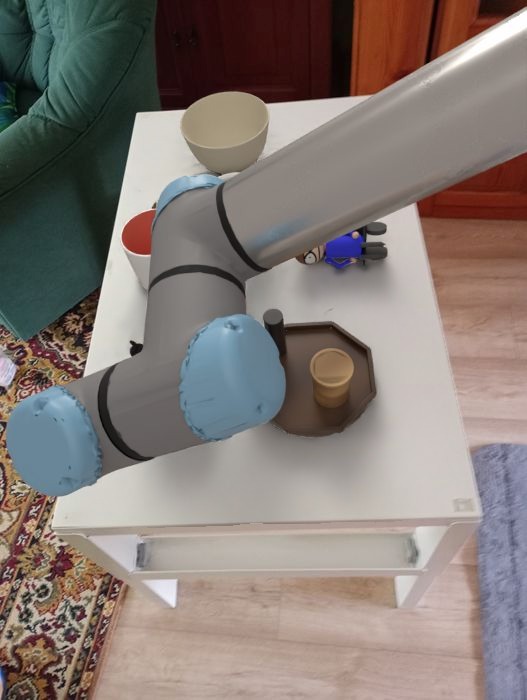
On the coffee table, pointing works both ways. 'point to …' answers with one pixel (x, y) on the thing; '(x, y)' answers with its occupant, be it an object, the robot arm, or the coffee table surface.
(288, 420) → the tray
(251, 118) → the bowl
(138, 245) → the cup
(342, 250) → the character figurine
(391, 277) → the coffee table surface
